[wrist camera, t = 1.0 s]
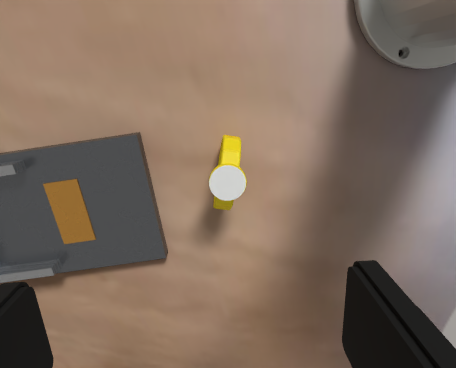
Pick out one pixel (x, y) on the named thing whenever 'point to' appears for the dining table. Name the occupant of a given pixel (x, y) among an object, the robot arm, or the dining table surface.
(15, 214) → the gray fixture board
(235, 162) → the watch
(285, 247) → the dining table surface
